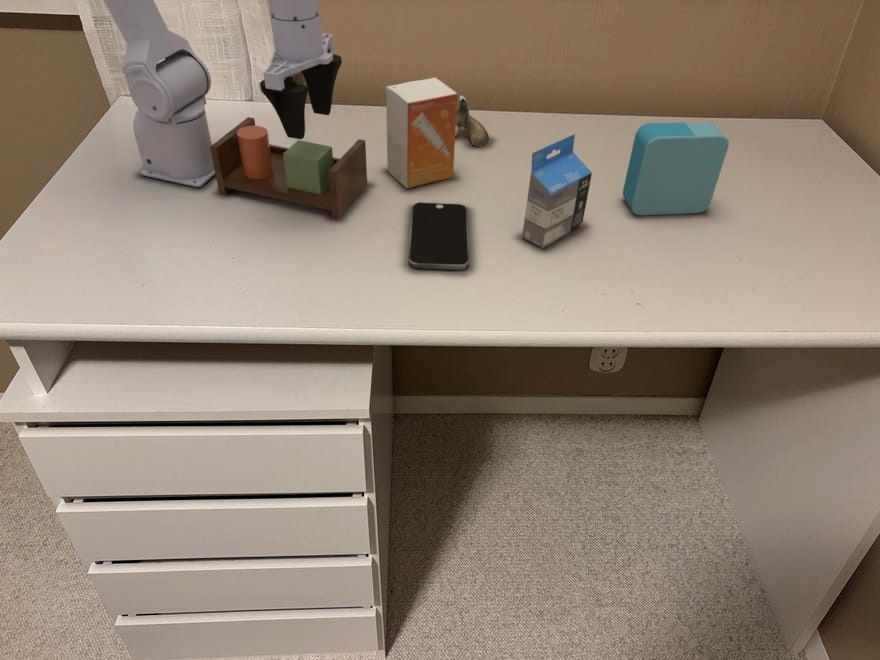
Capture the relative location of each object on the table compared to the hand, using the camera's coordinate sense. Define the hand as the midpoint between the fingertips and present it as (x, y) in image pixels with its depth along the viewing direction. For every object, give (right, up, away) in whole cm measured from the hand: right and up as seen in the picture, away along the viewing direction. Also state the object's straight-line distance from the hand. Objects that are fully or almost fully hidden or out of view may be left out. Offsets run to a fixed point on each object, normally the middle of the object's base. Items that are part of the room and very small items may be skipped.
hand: (309, 125), depth 94 cm
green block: (-1, -6, +6) cm, 9 cm away
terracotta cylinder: (-9, -4, +7) cm, 12 cm away
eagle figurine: (+19, +6, +25) cm, 32 cm away
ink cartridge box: (+32, -13, +5) cm, 35 cm away
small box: (+13, -3, +15) cm, 20 cm away
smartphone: (+17, -14, +3) cm, 22 cm away
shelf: (-4, -6, +9) cm, 12 cm away
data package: (+49, -8, +13) cm, 51 cm away
